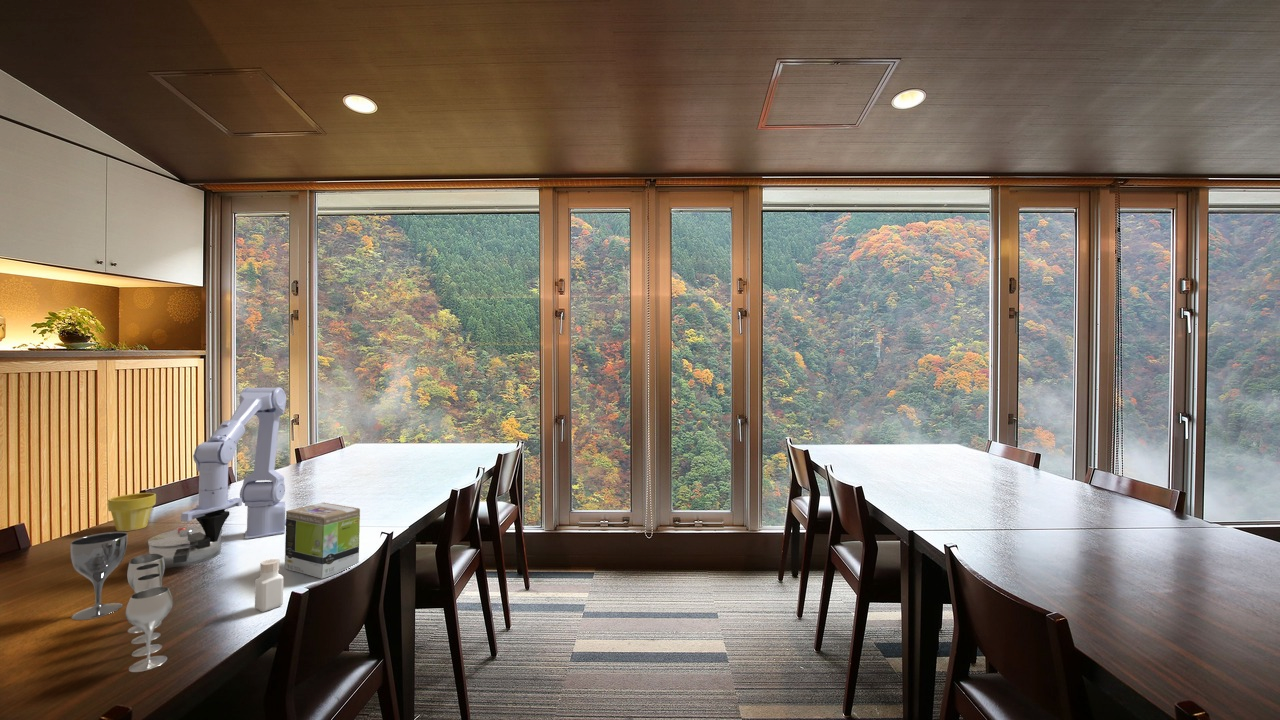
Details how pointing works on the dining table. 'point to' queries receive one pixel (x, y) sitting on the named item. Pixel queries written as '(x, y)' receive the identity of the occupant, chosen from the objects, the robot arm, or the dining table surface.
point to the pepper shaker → (269, 586)
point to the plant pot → (131, 510)
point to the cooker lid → (182, 538)
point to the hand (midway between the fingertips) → (212, 541)
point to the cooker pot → (186, 554)
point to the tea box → (322, 539)
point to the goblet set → (147, 607)
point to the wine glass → (98, 566)
